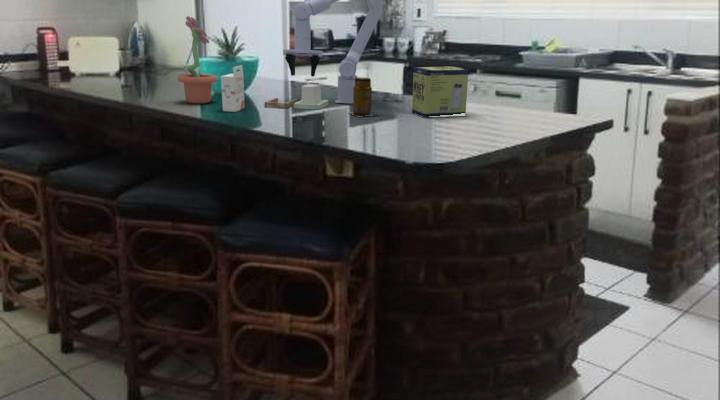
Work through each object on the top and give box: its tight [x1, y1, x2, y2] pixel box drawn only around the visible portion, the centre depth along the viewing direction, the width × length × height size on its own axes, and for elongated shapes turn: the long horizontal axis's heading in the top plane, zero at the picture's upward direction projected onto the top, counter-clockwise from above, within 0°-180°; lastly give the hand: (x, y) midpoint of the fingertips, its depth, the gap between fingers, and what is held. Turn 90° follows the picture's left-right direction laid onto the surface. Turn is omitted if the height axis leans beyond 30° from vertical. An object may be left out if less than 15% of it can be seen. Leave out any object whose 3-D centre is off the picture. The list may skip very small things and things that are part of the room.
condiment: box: [352, 77, 373, 118], centre depth 209 cm, size 7×8×12 cm
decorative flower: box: [177, 15, 218, 105], centre depth 225 cm, size 15×14×30 cm
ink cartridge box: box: [220, 64, 246, 113], centre depth 214 cm, size 9×5×15 cm, turn 168°
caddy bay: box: [264, 97, 298, 110], centre depth 225 cm, size 8×11×2 cm
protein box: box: [411, 65, 469, 118], centre depth 211 cm, size 10×16×16 cm
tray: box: [293, 99, 329, 111], centre depth 225 cm, size 9×13×2 cm
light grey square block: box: [301, 81, 322, 105], centre depth 224 cm, size 4×8×8 cm, turn 166°
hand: (303, 75), depth 234 cm, fingers open, 7 cm apart
